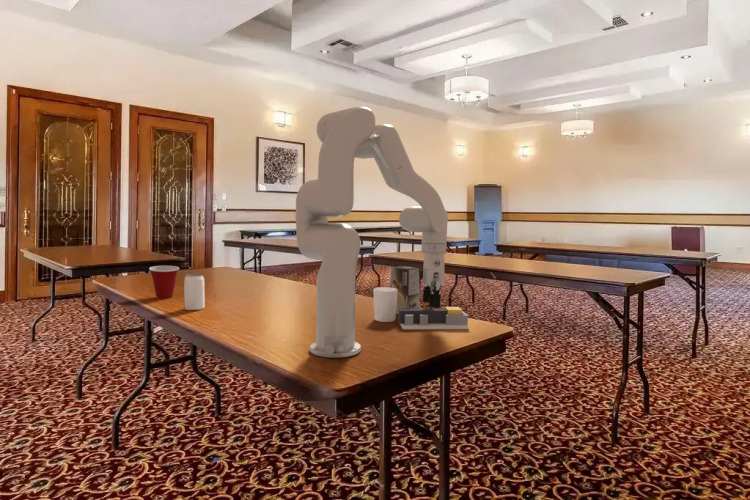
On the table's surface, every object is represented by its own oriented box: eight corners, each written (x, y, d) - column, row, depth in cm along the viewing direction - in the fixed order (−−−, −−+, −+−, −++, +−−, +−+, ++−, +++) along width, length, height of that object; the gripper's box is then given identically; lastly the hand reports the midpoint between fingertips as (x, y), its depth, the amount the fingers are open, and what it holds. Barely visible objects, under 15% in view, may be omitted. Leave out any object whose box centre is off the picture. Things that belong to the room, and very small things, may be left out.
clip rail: (468, 329, 136) (468, 315, 136) (402, 329, 135) (403, 316, 134) (460, 321, 145) (460, 309, 145) (398, 322, 144) (398, 309, 143)
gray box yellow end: (400, 324, 137) (400, 309, 136) (398, 320, 141) (398, 306, 141) (461, 324, 138) (462, 309, 138) (457, 320, 143) (458, 306, 142)
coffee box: (421, 314, 155) (422, 268, 154) (408, 317, 151) (409, 269, 149) (402, 310, 162) (403, 265, 161) (389, 312, 158) (390, 266, 156)
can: (185, 307, 160) (185, 273, 159) (205, 306, 162) (204, 273, 161) (183, 311, 154) (183, 276, 153) (204, 310, 156) (203, 275, 155)
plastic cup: (153, 300, 170) (153, 269, 170) (146, 296, 179) (145, 266, 178) (183, 297, 177) (183, 267, 177) (175, 293, 186) (174, 264, 185)
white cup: (393, 323, 142) (393, 292, 141) (369, 321, 144) (369, 290, 143) (399, 318, 149) (400, 288, 148) (377, 316, 152) (377, 286, 151)
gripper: (453, 251, 130) (450, 310, 131) (439, 247, 147) (436, 300, 148) (427, 250, 129) (424, 309, 130) (416, 247, 146) (414, 299, 147)
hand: (431, 304), depth 139 cm, fingers open, 9 cm apart
